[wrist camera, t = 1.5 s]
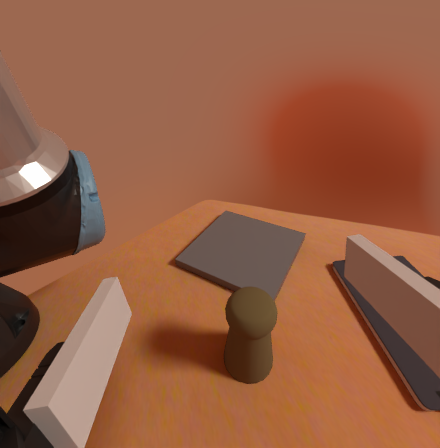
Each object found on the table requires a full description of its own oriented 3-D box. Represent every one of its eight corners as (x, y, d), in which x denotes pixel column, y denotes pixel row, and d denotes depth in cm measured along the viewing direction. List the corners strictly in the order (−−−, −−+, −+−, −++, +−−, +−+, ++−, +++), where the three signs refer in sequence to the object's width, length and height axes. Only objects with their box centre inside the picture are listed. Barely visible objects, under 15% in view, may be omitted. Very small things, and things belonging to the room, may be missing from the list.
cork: (214, 348, 31) (209, 292, 24) (253, 325, 33) (257, 269, 27) (241, 395, 26) (243, 343, 20) (283, 365, 29) (297, 310, 22)
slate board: (176, 265, 43) (174, 259, 42) (225, 216, 55) (225, 210, 54) (271, 307, 35) (272, 301, 34) (304, 239, 47) (305, 233, 47)
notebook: (536, 404, 25) (399, 261, 42) (548, 399, 24) (402, 255, 42) (420, 416, 25) (328, 267, 42) (427, 411, 24) (331, 260, 41)
